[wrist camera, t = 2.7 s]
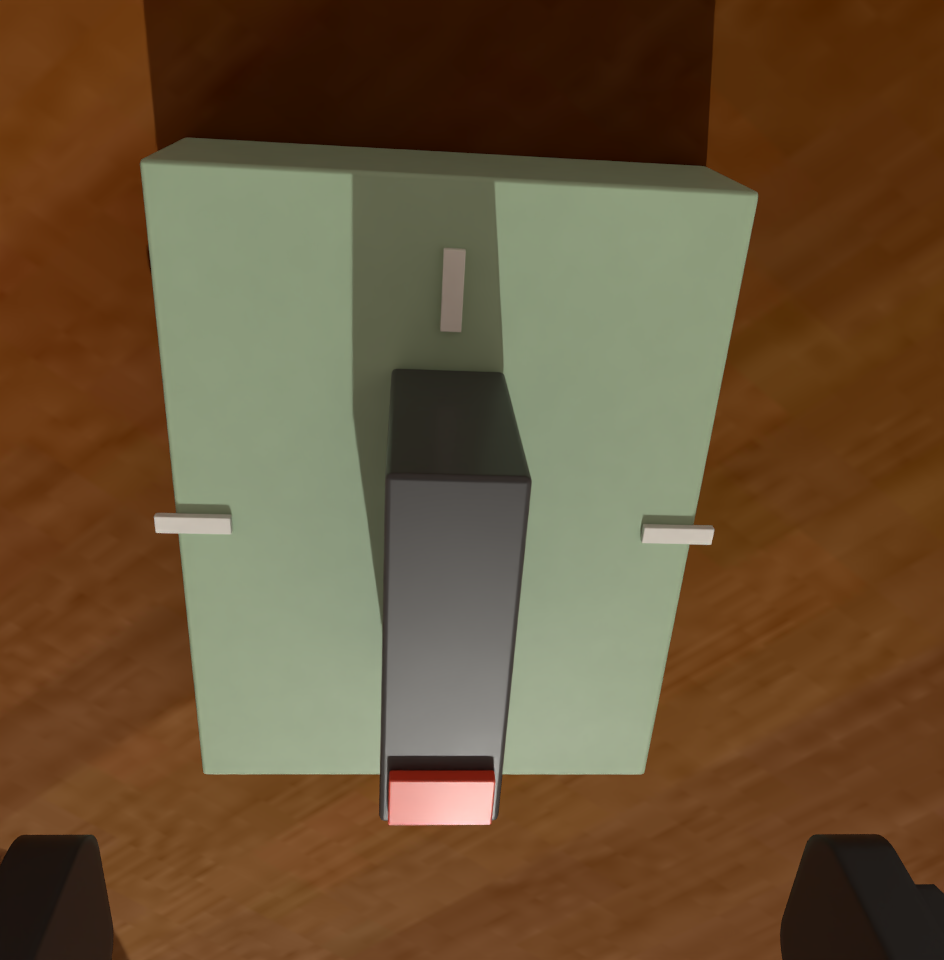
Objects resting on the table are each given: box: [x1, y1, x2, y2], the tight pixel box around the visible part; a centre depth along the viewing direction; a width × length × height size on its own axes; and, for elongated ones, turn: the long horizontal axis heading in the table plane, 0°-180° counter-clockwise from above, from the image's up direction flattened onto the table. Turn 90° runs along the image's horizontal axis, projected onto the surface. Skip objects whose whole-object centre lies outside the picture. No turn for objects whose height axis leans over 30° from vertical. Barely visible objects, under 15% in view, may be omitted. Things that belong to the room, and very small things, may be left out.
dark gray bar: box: [379, 369, 532, 825], centre depth 15 cm, size 6×2×4 cm, turn 177°
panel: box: [140, 137, 758, 774], centre depth 18 cm, size 13×11×3 cm
